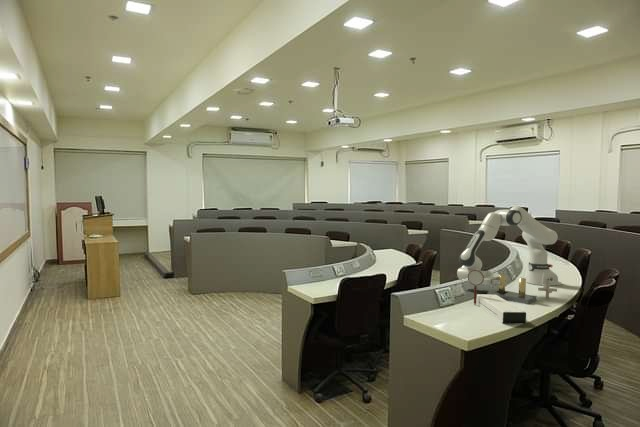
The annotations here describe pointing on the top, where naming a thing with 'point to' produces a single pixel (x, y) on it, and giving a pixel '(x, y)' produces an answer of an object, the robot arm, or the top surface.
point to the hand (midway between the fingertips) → (503, 281)
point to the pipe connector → (547, 289)
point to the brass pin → (502, 284)
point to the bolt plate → (516, 294)
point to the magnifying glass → (475, 280)
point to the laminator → (501, 309)
